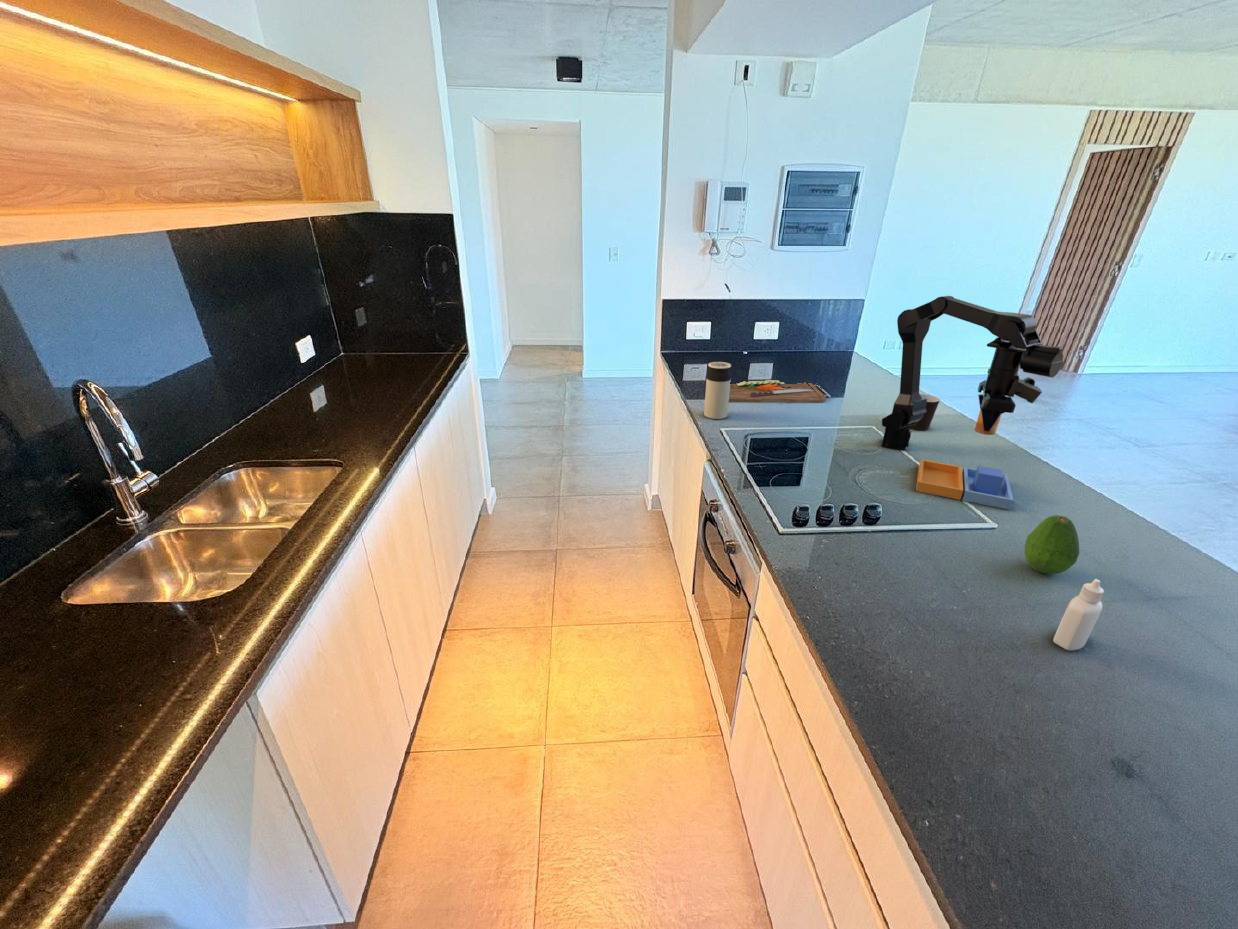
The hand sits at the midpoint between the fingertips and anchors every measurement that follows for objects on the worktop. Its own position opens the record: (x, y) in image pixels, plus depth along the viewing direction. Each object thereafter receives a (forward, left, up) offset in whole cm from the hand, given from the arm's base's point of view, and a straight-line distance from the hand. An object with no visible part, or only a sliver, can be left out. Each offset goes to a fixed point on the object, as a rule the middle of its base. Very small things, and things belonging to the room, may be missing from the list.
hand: (985, 427), depth 135 cm
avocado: (+10, -44, -13) cm, 47 cm away
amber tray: (-8, -11, -13) cm, 18 cm away
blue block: (+2, -11, -12) cm, 16 cm away
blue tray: (+2, -11, -13) cm, 17 cm away
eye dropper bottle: (+11, -65, -13) cm, 67 cm away
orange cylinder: (0, 0, -1) cm, 1 cm away
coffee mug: (-15, +33, -13) cm, 39 cm away
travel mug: (-75, +10, -13) cm, 77 cm away
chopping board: (-68, +47, -13) cm, 84 cm away
